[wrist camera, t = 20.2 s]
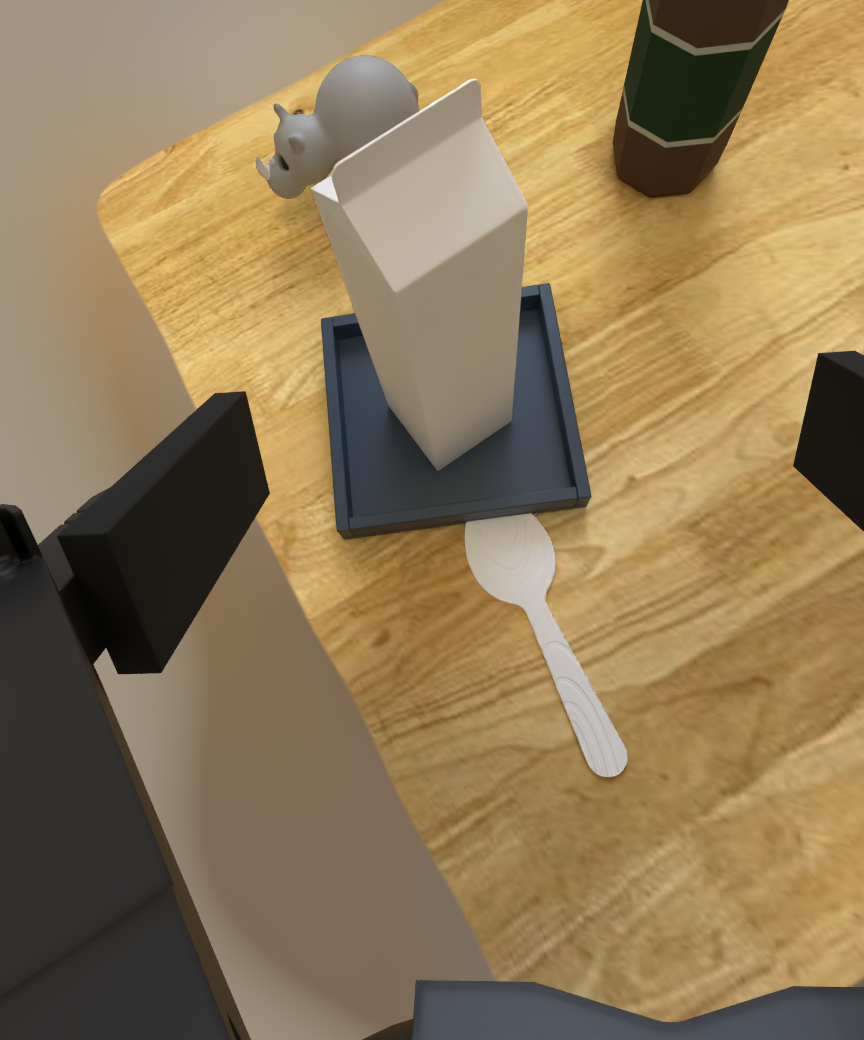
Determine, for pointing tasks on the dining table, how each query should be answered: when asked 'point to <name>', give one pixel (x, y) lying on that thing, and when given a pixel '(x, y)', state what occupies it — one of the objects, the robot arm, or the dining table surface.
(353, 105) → the toy rhinoceros
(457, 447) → the milk
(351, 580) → the dining table surface
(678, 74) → the beer bottle
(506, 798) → the dining table surface
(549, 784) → the dining table surface
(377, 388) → the tray
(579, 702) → the spoon
